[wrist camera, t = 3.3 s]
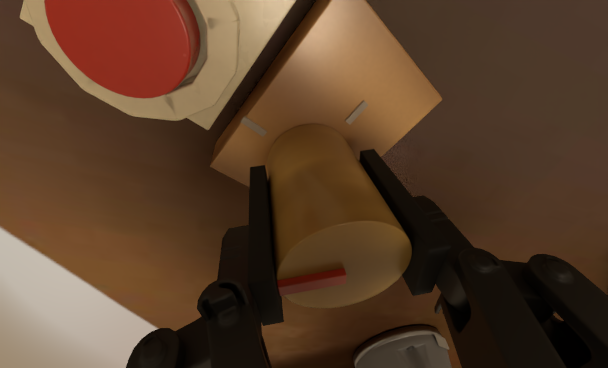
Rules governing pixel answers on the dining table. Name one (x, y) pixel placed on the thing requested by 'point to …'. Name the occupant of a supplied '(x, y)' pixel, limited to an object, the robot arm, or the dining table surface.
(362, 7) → the dimmer console
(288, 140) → the dimmer knob
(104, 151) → the dining table surface
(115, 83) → the lamp switch
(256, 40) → the lamp base
